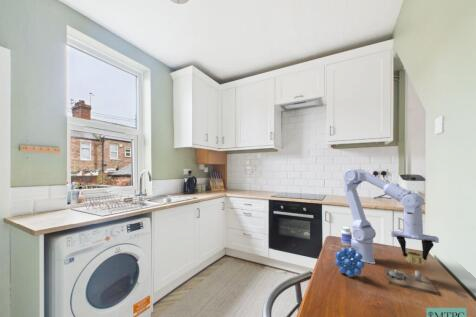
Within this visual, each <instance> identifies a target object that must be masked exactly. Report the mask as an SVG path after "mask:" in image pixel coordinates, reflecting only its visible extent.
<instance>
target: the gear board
mask: <svg viewBox="0 0 476 317" xmlns="http://www.w3.org/2000/svg"><path fill="white" fill-rule="evenodd" d="M383 268H384V269H383V270H384V274H385V276H386V279H387V282H388V284H389V285H394V286H397V287H401V288H405V289H410V290H414V291H419V292H423V293H427V294H432V295H435V296H439V291H438V290H437V288H436V287H435V286H434V284H433V282H431V280H430V278H429V277H428V276H426V275H422V272H421V271H419V270H417V269H416V270H414V273H412V272H411V273H410V272H405V271H400V270H397V269H391V268H387V267H383Z"/></svg>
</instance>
